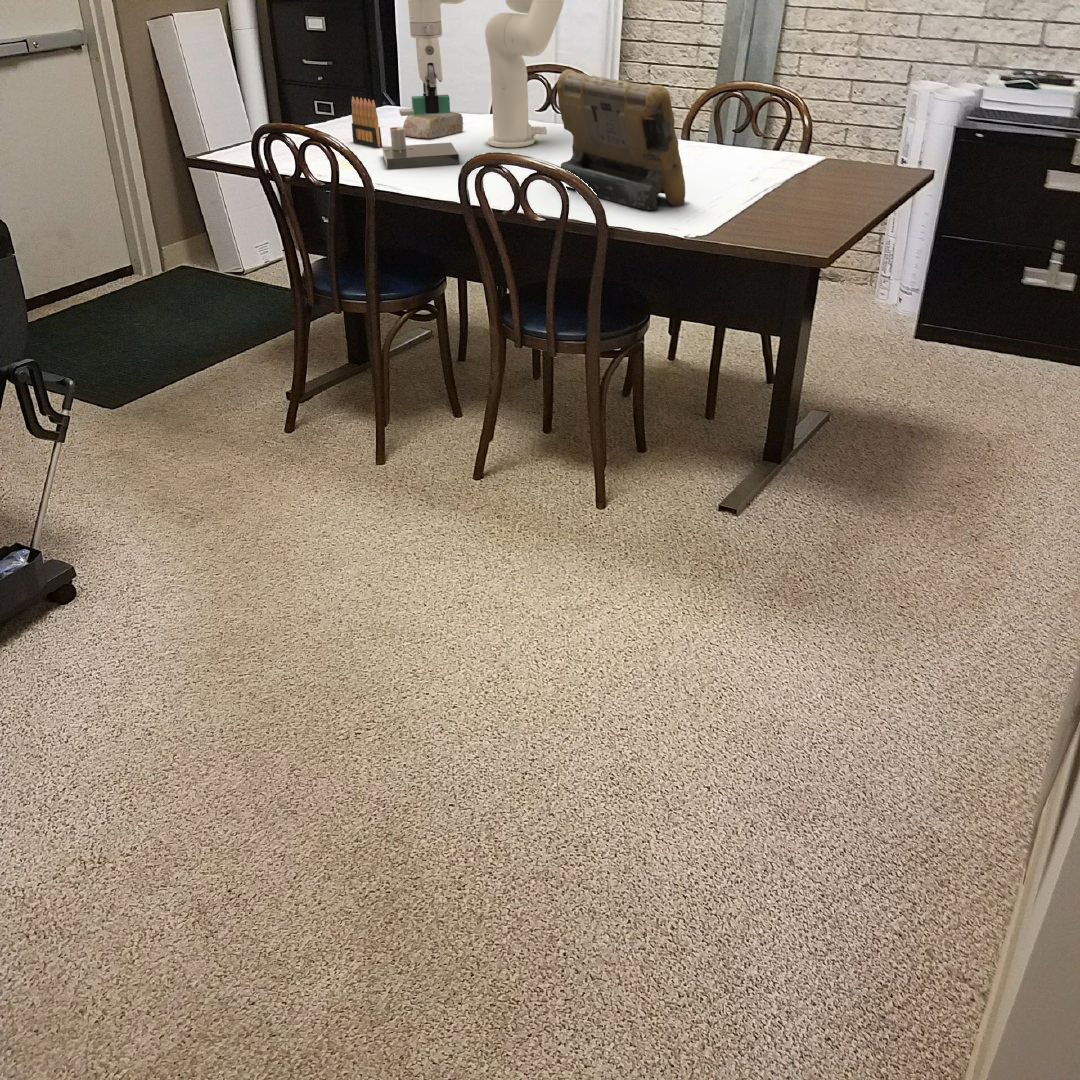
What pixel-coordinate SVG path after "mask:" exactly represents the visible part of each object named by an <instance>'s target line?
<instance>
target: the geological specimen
mask: <svg viewBox="0 0 1080 1080" xmlns="http://www.w3.org/2000/svg"><path fill="white" fill-rule="evenodd" d="M463 119H464V118H463V115H462V113H460V112H455V111H451V110H450V113H440V114H421V115H410V116H406V118H405V120H404V122H403V126H402V127H403V128H404V129H405V137H411V138H418V139H430V140H431V139H434V138H435V139H436V138H441V137H445V136H449V135H454V134H460V133H462V132H463V129H464V121H463Z"/></svg>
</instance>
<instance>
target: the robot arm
mask: <svg viewBox="0 0 1080 1080" xmlns="http://www.w3.org/2000/svg"><path fill="white" fill-rule="evenodd" d="M465 1H466V0H407V4H408V5H407V7H408V19H409V31H410V32H409V33H410V38H413V39H415V47H416V59H417V68H418V69H417V70H418V75H419V79H420V80H421V81H422V90H423V93H422V96H425V108H426V113H427V114H429V113H439V104H438V95H439V94H438V83H437V81H438V82H439V83H442V82H443V69H442V57H441V49H440V48H441V47H440V40H439V38H442V37H443V25H442V11H441V4H447V5H458V4H461V3H463V2H465ZM564 1H565V0H505V3H506V6H507V7H508V8H509V9H510V10H511V11H513V12H499V13H496V14H494V15H493V16H491V17H490V18H489V20H488V21H487V22H486V25H485V29H484V38H485V44H486V48H487V52H488V57H489V65H490V80H491V81H490V84H491V85H490V87H491V107H492V130H493V131H492V132H493V133H492V134H493V135H492V136H490V137H488V138H487V144H488V145H489V146H492V147H497V148H506V149H507V148H508V149H509V148H522V147H529V146H531V145H533V144H534V143H536V139H535V136H537V135H539V136H543V135H547V127H546V126H532V125H531V124H530V123H529V90H528V89H529V88H528V87H529V86H528V85H529V84H528V70H527V65H526V62H525V60H524V57H530V58H531V57H533V58H534V57H538V56H540V55H541V54H543V53H544V52H545V50H546V49H547V48H548V45H549V43H550V40H551V38H552V36H553V33H554V30H555V28H556V27H557V23H558V20H559V17H560V16H561V13H562V10H563V7H564Z"/></svg>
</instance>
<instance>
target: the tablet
mask: <svg viewBox="0 0 1080 1080" xmlns="http://www.w3.org/2000/svg"><path fill="white" fill-rule="evenodd" d="M556 93H557V101H558V109H559V112H560V117H561V120H562V123H563V130H564V131H565V130H566V131H568V132H569V133H570V134H571V135H572V147H571V148H572V150H571V151H572V156H571V158H570V159H569V160H566V161H563V162H561V164H560V168H563V169H565V170H568V171H570V172H571V173H573V174H575V175H576V176H578V177H579V178H580V179H582V180H583V181H584V182H585V183H587V184H588V186H589V187H591V188H592V189H593V191H594V192H595V193H596V194H597V196H598V197H597V198H599V199H604V200H607V201H609V202H610V201H611V202H613V203H618V204H623V205H627V206H630V207H633V208H637V209H642V210H649V211H652V212H653V211H655V210H658V208H659V205H658V202H657V199H658V196H659V194H664V197H665V199H666V201H667V202H668V203H670V204H671V205H672V206H673V207H674V206H675V207H679V206H681V205H683V204H685V202H686V201H685V198H686V181H685V177H684V170H683V164H682V159H681V155H680V149H679V140H678V137H677V135H676V129H675V123H676V121H675V115H674V111H673V106H672V100H671V95H670V92H669V91H668V89H667V88H666V87H665V86H663V85H661V84H655V85H647V84H640V83H637V82H636V83H634V82H630V81H627V80H621V79H615V78H608V77H601V76H600V77H599V76H596V75H590V74H589V75H588V74H585V73H580V72H577V71H575V70H574V69H568V68H567V69H565V70H563V71H562V72H561V73H560V74H559V76H558V78H557V83H556ZM566 188H567V189H570V190H572V189H571V188H569V187H566Z"/></svg>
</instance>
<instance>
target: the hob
mask: <svg viewBox="0 0 1080 1080" xmlns="http://www.w3.org/2000/svg"><path fill="white" fill-rule="evenodd" d="M381 148H382V157H383V160H384V164H385V166H386V168H387V170H395V169H396V170H397V169H399V170H400V169H410V168H425V167H439V166H440V167H441V166H455V165H460V155H459V153H458V151H457V149H456V147H454V145H453V143H452V142H451V141H449V142H438V143H437V142H436V143H424V144H422V143H421V144H406V149H405V150H400V151H396V150H392V145H391V146H382V147H381Z"/></svg>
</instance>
